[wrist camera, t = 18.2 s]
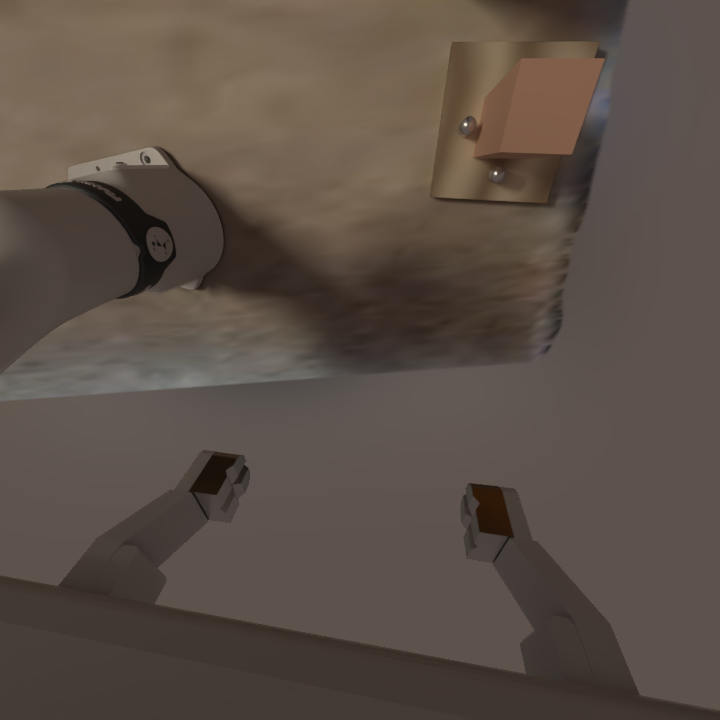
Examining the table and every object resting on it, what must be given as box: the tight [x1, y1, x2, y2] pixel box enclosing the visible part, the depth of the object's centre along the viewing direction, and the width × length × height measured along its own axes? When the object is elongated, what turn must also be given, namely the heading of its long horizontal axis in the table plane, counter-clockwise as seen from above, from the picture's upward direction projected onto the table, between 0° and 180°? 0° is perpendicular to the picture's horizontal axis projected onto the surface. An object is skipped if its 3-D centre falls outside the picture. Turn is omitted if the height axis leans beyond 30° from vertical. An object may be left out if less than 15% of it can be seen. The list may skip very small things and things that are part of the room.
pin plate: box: [430, 41, 600, 203], centre depth 31 cm, size 13×13×4 cm
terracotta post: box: [473, 58, 605, 159], centre depth 26 cm, size 5×5×13 cm
